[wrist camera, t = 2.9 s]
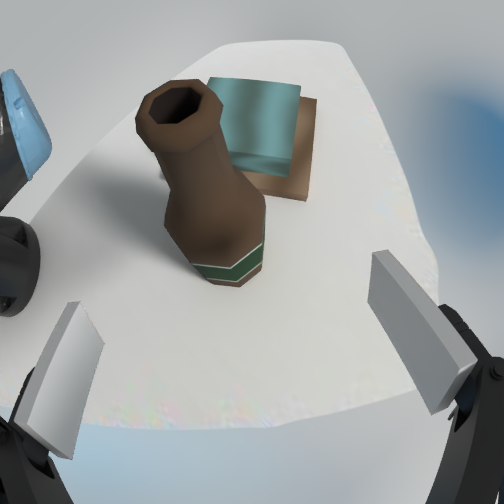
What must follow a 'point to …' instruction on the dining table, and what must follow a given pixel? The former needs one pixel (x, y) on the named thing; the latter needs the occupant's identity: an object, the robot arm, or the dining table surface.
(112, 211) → the dining table surface
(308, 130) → the display base
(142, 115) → the beer bottle
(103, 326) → the dining table surface
